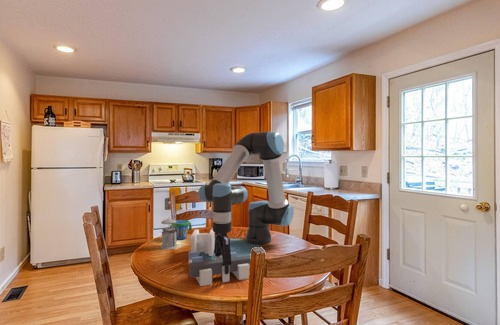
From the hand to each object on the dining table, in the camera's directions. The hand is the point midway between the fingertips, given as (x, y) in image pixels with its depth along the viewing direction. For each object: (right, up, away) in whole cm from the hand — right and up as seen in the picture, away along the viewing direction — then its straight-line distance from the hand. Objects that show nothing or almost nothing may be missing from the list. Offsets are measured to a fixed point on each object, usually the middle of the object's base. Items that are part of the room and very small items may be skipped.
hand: (222, 276), depth 121 cm
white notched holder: (-3, 0, +7) cm, 8 cm away
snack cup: (-31, 0, +60) cm, 67 cm away
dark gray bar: (0, +2, 0) cm, 2 cm away
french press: (-33, 0, +42) cm, 53 cm away
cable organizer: (-13, 0, +29) cm, 32 cm away
